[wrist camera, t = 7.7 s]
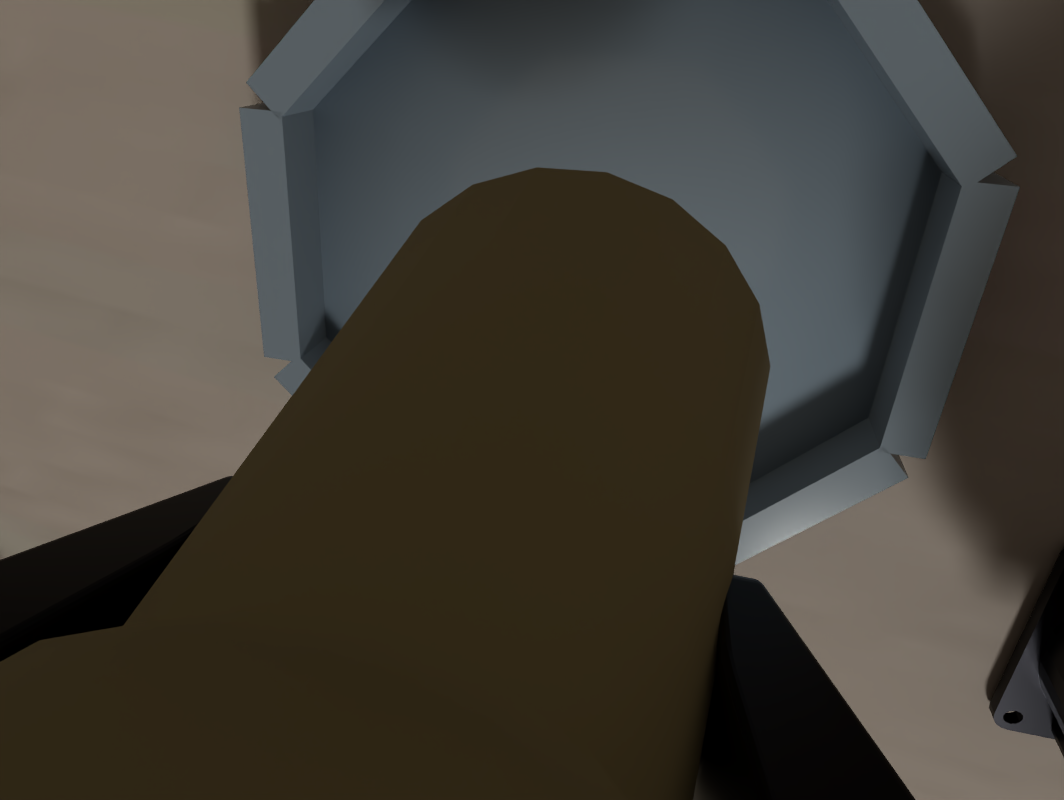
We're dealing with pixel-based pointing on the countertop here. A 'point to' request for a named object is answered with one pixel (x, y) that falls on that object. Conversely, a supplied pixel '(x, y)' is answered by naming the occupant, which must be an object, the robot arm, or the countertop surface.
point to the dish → (662, 187)
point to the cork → (449, 537)
